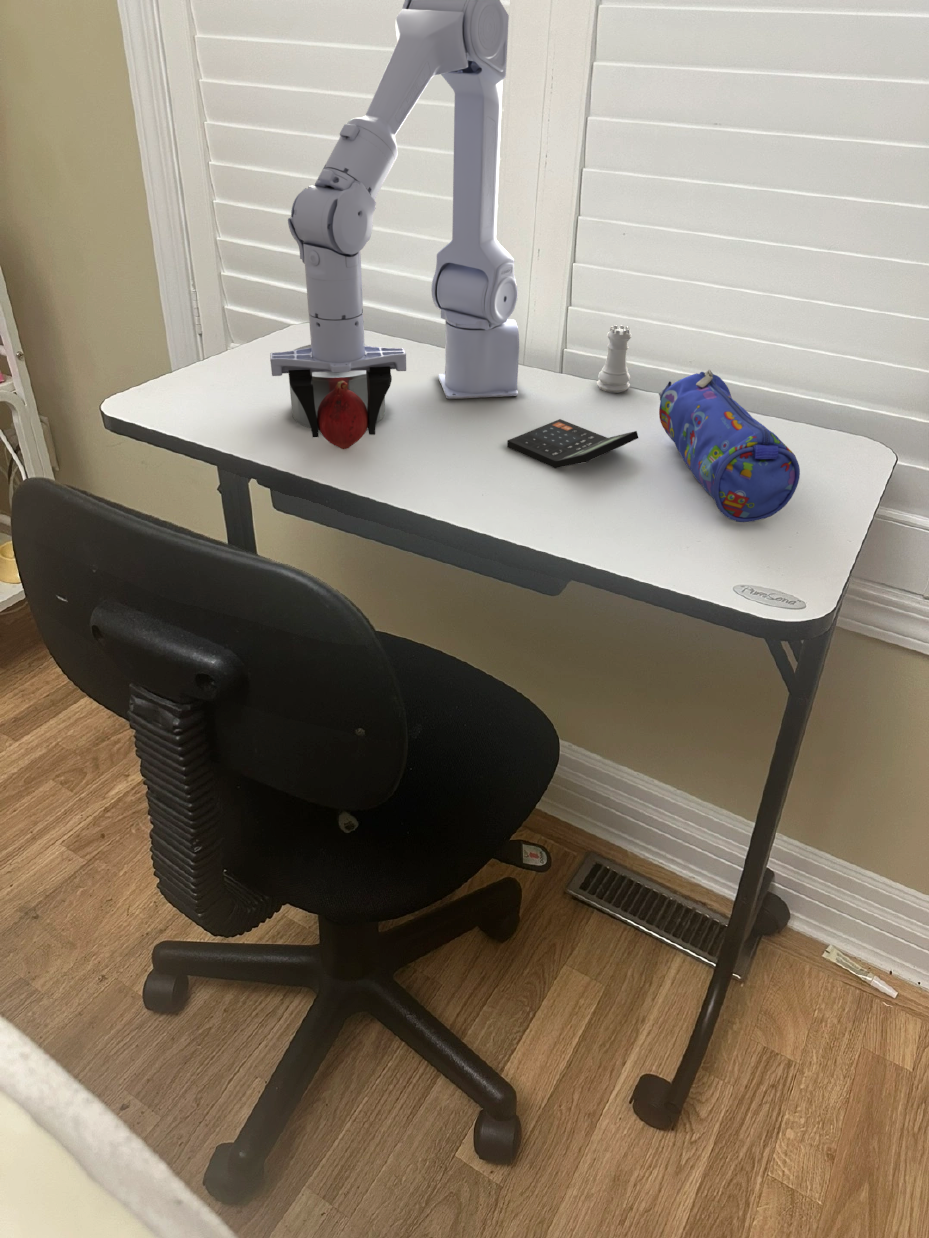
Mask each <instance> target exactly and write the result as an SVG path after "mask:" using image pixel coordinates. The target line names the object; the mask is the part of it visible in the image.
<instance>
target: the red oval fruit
mask: <svg viewBox="0 0 929 1238" xmlns="http://www.w3.org/2000/svg"><path fill="white" fill-rule="evenodd" d="M347 386H348V384H347V383H346V382H345V381H343V380H342V381H340V382H338V383H337V385H336V387H335V389H334V390H333V391H332V392H330V393H329V394H328V395H326V396H325V397H324V399H323V400H322V401H321V403H320V405H319V407H318V411H317V424H318V429H319V430H318V432H320V434H321V435H322V436H323V438H324V439H325V440H326V441H327V442H328V443H329V444H331V445H334V446H335V447H337V448H339V449H341V450H348V449H350V448H351V447H352V446H353V445H354V444H356V443H357V442H359V441H360V440H361V439H362V438H363V437H364V435H365V434H366V431H368V422H369V418H368V412H367V408H366V406H365V403H364V402H363V400H362V399H361V398H360V397H359V396H358V395H357V394H355V393H354V392H352V391H350V390H348V388H347Z"/></svg>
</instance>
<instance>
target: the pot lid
mask: <svg viewBox="0 0 929 1238" xmlns="http://www.w3.org/2000/svg"><path fill="white" fill-rule="evenodd" d="M365 346H369V345H368V344H365ZM370 346H371V347H373V346H372V345H370ZM306 348H311V344H307V345H303V346H300V347H297V348H295V349H294V350H299V349H306ZM366 377H367V376H366V370H361V371H349V372H312V379H313V380H316V381H331V382H332V381H342V380H343V381H350V380H356V379H361V378H366Z"/></svg>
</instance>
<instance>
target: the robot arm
mask: <svg viewBox="0 0 929 1238" xmlns="http://www.w3.org/2000/svg"><path fill="white" fill-rule="evenodd" d="M509 16H510V15H509V13H508V12H507V10H506V8H505V7H504V5H503V3H502V2H501V0H404V2H403V4H402V8H401V10H399V12H398V14H397V15H396V18H395V34H396V44H395V46H394V49H393V51H392V53H391V56H390V58H389V60H388V62H387V64H386V67H385V69H384V71H383V74H382V76H381V78H380V80H379V83H378V84H377V88H376V89H375V92H374V94H373V96H372V99H371V101H370V103H369V105H368V109H367V111H366V112H365V115H364V116H361V117H354V118H351V119H349V120H348V121H347V123H345V124H343V126H342V128H341V130H340V132H339V138H338V140H337V142H336V143H335V146H334V147H333V149H332V150H331V153H330V155H329V157H328V158H327V161H325V164H324V165H323V168H322V169H321V172H320V173H319V175H318V177H317V178H316V181H315V183H314V184H312V185H311V184H310V185H308V186H307V187H305V188H303V189H302V191H300V192H299V193H298V194H297V195H296V197H295V198H294V201H293V202H292V206H291V211H290V217H288V218H287V224H288V229H289V232H290V234H291V236H292V238H293V239H294V241H295V242H296V244H297V246H298V250H299V259H300V260H302V261H301V262H302V263H303V264H304V273H305V287H306V296H307V297H306V298H307V309H308V310H307V311H308V321H309V322H308V324H309V334H310V335H309V336H310V337H309V338H310V345H311V348H306V349H299V350H295V349H293V350H288V351H278V352H270V353H269V356H270V358H269V359H270V370H271V376H272V377H281V376H283V374H288V373H289V374H288V380H289V379H290V384H289V387H290V386H291V388H292V390H293V392H294V393H295V395H296V396H297V398H298V400H299V401H300V403H301V405H302V407H303V409H304V411H305V413H306V416H307V418H308V421H309V424H310V427H311V429H310V430H311V435H312V436H311V437H312V439H314V438H319V437H320V434H319V432H320V431H319V430H318V424H317V415H316V409H315V403H314V391H313V379H312V372H349V371H361V370H366V376H367V393H368V408H367V412H368V418H369V422H368V428H367V432H368V435H369V436H375V435H376V429H377V423H378V422H377V418H378V414H379V411H380V407H381V405H382V402H383V399H384V397H385V398H386V395H387V393H388V391H389V389H390V388H391V385H392V380H393V379H392V377H393V376H392V374H391V373H392V371H391V370H395V371H396V372H407V353H406V350H405V348H404V347H384V346H383V347H381V346H372V345H368V346H365V345H366V344H365V321H364V300H363V280H362V279H363V278H362V277H363V275H362V253H361V251H362V250H363V249H364V248H365V247H366V245H367V243H368V242H369V241H370V239H371V237H372V233H373V228H374V225H373V224H374V213H375V211H376V209H377V208H376V206H377V202H376V198H377V196H378V195H379V192H380V191H381V189H382V187H383V185H384V183H385V181H386V179H387V178H388V176H389V173H390V172H391V170H392V168H393V167H394V164H395V162H396V160H397V158H398V156H399V149H398V144H397V140H396V135H397V134H398V132H399V130H401V127H402V126H403V124H404V123H405V122H406V119H407V118H408V117H409V115H410V113H411V112H412V111H413V109H414V107H415V105H416V104H417V102H418V100H419V99H420V97H421V96H422V94H423V93H424V92H425V89H426V88H427V86H428V85H429V83H430V82H431V80H432V79H433V77H435V76H439V75H441V76H442V78H443V79H444V80H445V82H446V83H447V84H448V86H450V88H451V89H452V90H453V94H454V111H453V112H454V113H453V115H454V116H453V117H454V118H453V119H454V120H453V171H452V173H453V174H452V176H453V177H452V230H451V231H452V237H451V241H449V242H448V243H447V244H446V245H444V246H443V247H442V248H441V249H440V250H438V252H437V253H436V266H435V270H434V274H433V277H432V280H431V298H432V302H433V304H434V306H435V307H436V308H437V309H438V310H439V311H440V319H442V320H445V321H444V323H445V327H444V328H445V329H444V331H445V332H444V336H445V338H444V340H445V341H444V348H445V349H444V373H439V374H438V377H437V378H438V380H439V383H440V386H441V388H442V390H443V393H444V395H445V398H447V399H449V400H451V399H453V400H455V399H477V398H499V397H517V396H518V395H519V391H518V376H519V361H520V359H519V358H520V332H519V327H518V323H517V321H516V320H515V319H512V318H510V317H511V316H512V314H513V313H514V311H515V310H516V306H517V302H518V296H519V290H518V284H517V280H516V276H515V275H516V274H515V264H516V263H515V262H516V261H515V258H514V257H513V256H512V255H511V254H510V252H508V251H507V250H506V248H504V246H503V245H501V243H500V242H499V241H498V239H497V229H498V228H497V227H498V226H497V224H498V202H499V201H498V200H499V181H500V180H499V179H500V177H499V176H500V153H501V129H502V110H503V109H502V108H503V107H502V106H503V86H504V85H503V84H504V83H503V82H504V80H505V79H506V77H507V62H508V59H507V58H508V41H509V40H508V39H509V38H508V37H509V19H510V17H509ZM371 346H372V347H371ZM376 422H377V423H376Z"/></svg>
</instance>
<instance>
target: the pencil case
mask: <svg viewBox="0 0 929 1238" xmlns="http://www.w3.org/2000/svg"><path fill="white" fill-rule="evenodd" d="M658 396H659V400H660V403H659V409H658V415H659V422H660V424H661V427H662V429H663V430H664V431H665V434H666V435H667V436H668V437H669V439H670V440H671V441H672V442H673V443H674V445H675V448H676V449H677V451H678V452H679V455H680V456H681V458H682V461H683V462H684V463H685V465H686V467H687V468H688V469H689V471H690V472H691V473H692V475H693V476H694V478H695V479H696V481H697V482H698V483H699V484H700V485H701V487H702V488H703V489H704V490H705V491H706V493H707V494H708V495H709V496H710V497H711V498H712V499H713V500H714V503H715V505H716V507H717V509H718V510H719V512H720V513H721V514H722V515H723V517H726V518H727V519H729V520H731V521H735V522H737V523H750V522H755V521H759V520H760V521H761V520H764V519H767V518H770V517H772V516H774V515H776V514H777V513H778V512H780V511H781V510H782V509H783V508H785V507H786V506H787V504H788V503H789V502H790V501H791V499H792V498H793V496H794V494H795V492H796V490H797V487H798V484H799V482H800V477H801V473H800V472H801V468H800V464H799V461H798V460H797V457H796V455H795V454H794V452H793V451H792V450H791V449H790V448H789V447H788V446H787V445H786V444H785V443H784V442H783V441H782V440H781V439H780V438H779V437H778V436H777V434H775V433H774V432H773V431H771V430H770V429H768V428H767V427H766V426H765V425H764V424H762V423H761V422H759V421H758V420H757V419H755V418H754V417H753V416H752V415H751V414H750V413H749V412H748V411H747V409H745V408H744V407H743V406H741V405H740V404H739V403H738V402H737V401H736V400H735V399H733V398H732V395H731V392H730V389H729V386H728V385H727V384H726V382H725V381H724V380H723V379H722V378H721V377H720V376H718V375H717V374H714V373H713V372H712V370H711V369H707V370H706V371H705V372H704V371H700V372H699V373H697V372H696V373H693V374H690V375H688V376H686V377H683V378H681V379H678V380H677V381H674V382H673V383H672V381H671V380H670V381H668V382H667V384H666V385H665V387H664V388H663V389H661V390H660V392H659V393H658Z"/></svg>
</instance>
